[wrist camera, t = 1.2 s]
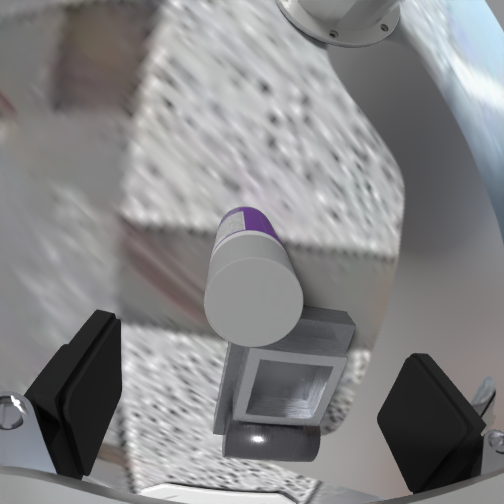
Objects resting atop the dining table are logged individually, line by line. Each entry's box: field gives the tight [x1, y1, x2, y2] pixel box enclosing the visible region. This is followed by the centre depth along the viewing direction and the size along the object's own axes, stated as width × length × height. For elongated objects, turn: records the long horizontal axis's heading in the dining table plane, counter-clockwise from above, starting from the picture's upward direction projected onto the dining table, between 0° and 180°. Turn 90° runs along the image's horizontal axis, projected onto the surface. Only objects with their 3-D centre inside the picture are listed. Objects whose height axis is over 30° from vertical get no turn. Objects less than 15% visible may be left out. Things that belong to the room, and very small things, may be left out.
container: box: [204, 207, 303, 347], centre depth 21 cm, size 5×5×15 cm
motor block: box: [213, 306, 356, 462], centre depth 29 cm, size 16×11×8 cm
